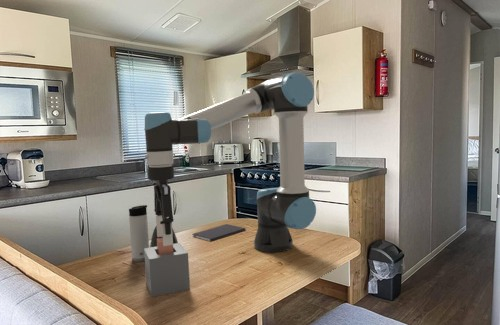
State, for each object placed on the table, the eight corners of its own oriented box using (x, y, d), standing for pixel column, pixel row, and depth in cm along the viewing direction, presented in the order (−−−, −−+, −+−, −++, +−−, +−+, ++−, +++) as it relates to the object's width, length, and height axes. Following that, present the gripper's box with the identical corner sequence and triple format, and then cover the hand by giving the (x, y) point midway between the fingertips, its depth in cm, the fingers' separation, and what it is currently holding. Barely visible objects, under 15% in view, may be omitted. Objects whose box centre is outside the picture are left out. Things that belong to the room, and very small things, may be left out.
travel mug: (145, 262, 135) (142, 207, 133) (128, 261, 136) (125, 207, 134) (153, 256, 141) (150, 203, 139) (137, 255, 142) (133, 203, 141)
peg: (171, 268, 116) (170, 236, 115) (174, 272, 112) (172, 240, 111) (158, 270, 114) (156, 238, 113) (161, 275, 110) (159, 242, 109)
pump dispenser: (154, 271, 125) (151, 227, 124) (147, 262, 134) (144, 220, 133) (184, 265, 130) (181, 222, 129) (175, 257, 139) (173, 216, 138)
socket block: (181, 276, 120) (179, 242, 119) (189, 289, 110) (187, 252, 109) (146, 283, 116) (144, 248, 115) (151, 297, 106) (149, 259, 105)
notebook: (210, 242, 157) (245, 231, 173) (210, 239, 157) (245, 228, 173) (191, 237, 166) (226, 227, 181) (191, 234, 166) (226, 223, 181)
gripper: (142, 164, 119) (146, 233, 121) (153, 169, 98) (158, 253, 100) (166, 162, 122) (170, 230, 124) (181, 167, 101) (186, 248, 103)
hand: (164, 240), depth 112 cm, fingers open, 9 cm apart
